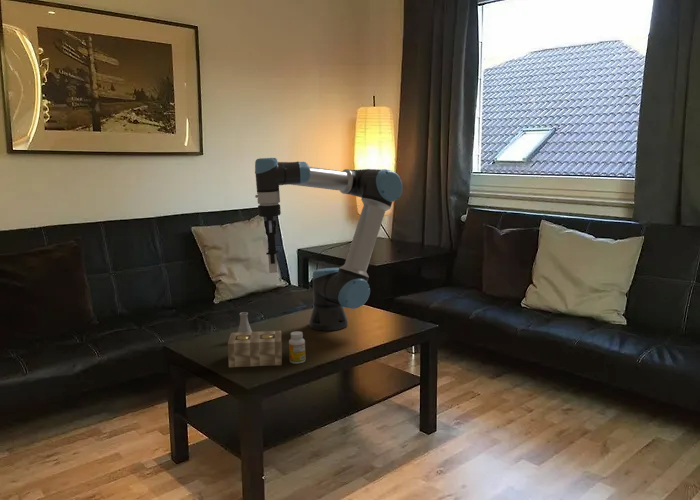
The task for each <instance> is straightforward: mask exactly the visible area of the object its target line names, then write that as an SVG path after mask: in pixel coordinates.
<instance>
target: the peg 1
mask: <svg viewBox="0 0 700 500" xmlns="http://www.w3.org/2000/svg"><path fill="white" fill-rule="evenodd" d="M237 340H249V336H247V335H242V336H238V337H237Z"/></svg>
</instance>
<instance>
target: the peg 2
mask: <svg viewBox="0 0 700 500" xmlns="http://www.w3.org/2000/svg"><path fill="white" fill-rule="evenodd" d="M272 338H273V335H271V334H266V335H262V336H261V339H272Z"/></svg>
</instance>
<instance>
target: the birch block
mask: <svg viewBox="0 0 700 500" xmlns="http://www.w3.org/2000/svg"><path fill="white" fill-rule="evenodd" d="M237 332H238V331H237ZM237 332H231V333H230V336H229V338H228V341H227V357H228V358H227V359H228V368H240V367H241V368H242V367H264V366H266V367H267V366H282V363H283V360H282V359H283V346H282V330H269V331H268V330H266V331H252V332H238V333H237ZM266 334H271V335H273V338H272V339H261V336H262V335H266ZM242 335H247V336H249V340H237V337H238V336H242Z"/></svg>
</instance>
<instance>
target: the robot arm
mask: <svg viewBox="0 0 700 500" xmlns="http://www.w3.org/2000/svg"><path fill="white" fill-rule="evenodd" d="M254 173H255V184H256V186H255V187H256V194H255V197H254V198H257V204H258V206H257V213H258V217H261V218H264V217H265V218H266V220H264V221H263V222H264V228H265V235H266V237H267V250H268V251H267V252H265V253H266V255H267V256H268V270H269V274H272V273H273V274H276V273H278V262H277V253H278V252H279V250H276V249H277V248H276V236H275V235H276V233H277V230H276V227H277V221H276V220H274V217H279V216H280V215H281V213H282V212H281V204H279V203H280V202H281V195H280V186H286V185H287V186H288V185H291V186H298V187H299V186H300V187H305V188H306V187H307V188H314V189H315V188H316V189H326V190H333V191H339V192H340V193H342V194H343V195H345V194H346V195H351V196H354V197H358V198H361V202H362V205H363V206H362V209H361V212H360V215H359V219H358V222H357V225H356V228H355V231H354V235H353V237H352V240H351V244H350V246H349V249H348V253H347V256H346V259H345V261H344V264H343V265H341V266H339V267H326V268H319V269H316V270H314V271H312V272H313V273H312V279H311V280H312V299H313V300H312V301H313V302H312V303H313V306H312V310H311V314H310V317H309V320H308V321H309V328H311V329H313V330H315V331H322V330H323V331H324V332H325V331H327V332H329V331H331V330H332V331H338V330H342V328H343V329H345V328H347V327H348V317H347V315H346V312H345V309H344V308H346V309H351V310H353V309H354V310H355V309H359V308H361V307H362V306H364V305H365V304H366V302H367V301H368V300H369V298H370V295H371V288H370V284H369V283H368V281H369V277H370V276H369V274H368V273H367V270H368V267H369V265H370V260H371V258H372V254H373V251H374V248H375V244H376V241H377V239H378V237H379V232H380V229H381V225H382V222H383V220H384V216H385V213H386V211H389V210H390V209H391V207H392V205H393V202H395V201H397V200H398V199H400V198H401V195H402V193H403V182H402V180H401V177H400V175H399V174H398V173H397V172H395V171H393V170H390V169H386V168H384V169H379V168H378V169H376V168H375V169H374V168H373V169H371V168H366V169H365V168H364V169H348V168H346V169H343V170H334V169H330V168H328V169H327V168H322V167H321V168H320V167H316V166H315V167H313V166H309V164H308V163H307V162H306V161H299V160H298V161H278V158H276V157H263V158H261V157H259V158H257V159H256V160H255V162H254ZM346 326H347V327H346Z"/></svg>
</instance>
